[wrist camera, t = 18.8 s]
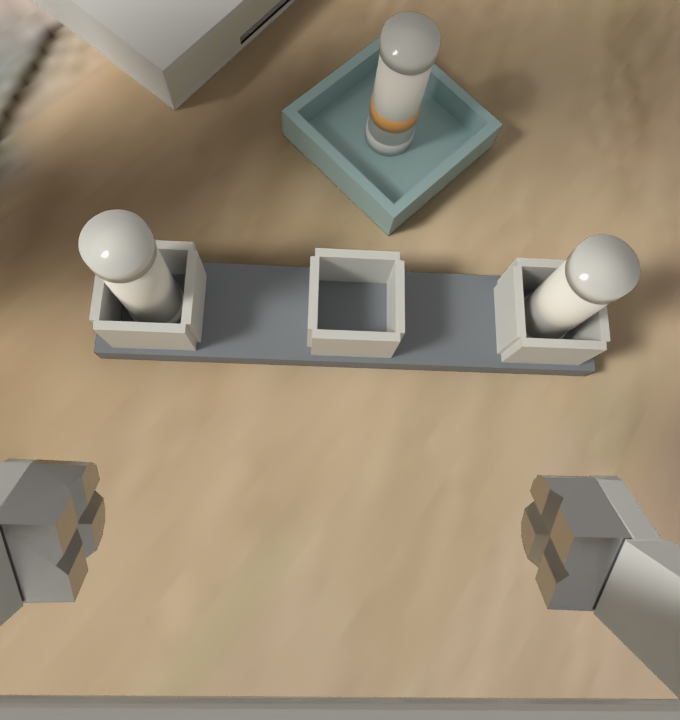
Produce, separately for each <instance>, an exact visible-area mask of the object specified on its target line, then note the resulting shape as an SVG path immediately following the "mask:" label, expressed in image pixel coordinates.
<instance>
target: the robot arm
mask: <svg viewBox="0 0 680 720" xmlns="http://www.w3.org/2000/svg"><path fill="white" fill-rule="evenodd" d="M99 480H100V478H99V473H98V469H97V465H95V464H94V463H92V462H76V461H57V460H27V459H7V460H5V461H3V462H1V463H0V626H1V625H2V624H3V623H4V622H5V621H7V620H8V619H9V618H10V617H11V616H12V615H13V614H14V613H16V612H17V611H18V610H19V609H20V608H21V607H22V606H23V603H36V602H75V600H76V598H77V595H78V593H79V591H80V588H81V586H82V584H83V581H84V579H85V577H86V574H87V572H88V567H87V562H86V558H87V557H88V556H89V555H91V554H92V553H93V552H95V551H96V550H97V548H98V546H99V543H100V541H101V538H102V535H103V529H104V524H105V505H104V499H103V497H102V496H101V495H99V494H98V493H97V492H96V491H95V489H96V487H97V485H98V482H99ZM530 492H531V494H532V497H533V499H534V502H532V503H531V504H530V505H529V506H528V507H526V508H525V510H524V514H523V518H522V522H521V537H522V542H523V547H524V550H525V553H526V555H527V558H528V559H529V560H530V561H531V562H532V563H534V564H535V565H536V566H537V567H538V568H539V569H538V572H537V575H536V578H535V579H536V581H537V584H538V586H539V589H540V591H541V594H542V596H543V599H544V601H545V604H546V606H547V609H554V610H578V611H594V614H595V615H596V616H597V617H598V618H599V619H600V620H601V621H602V622H603V623H604V624H605V625H606V626H607V627H608V628H609V629H610V630H611V631H612V632H613V633H614V634H615V635H616V636H617V637H618V638H619V639H620V640H621V641H622V642H623V643H624V644H625V645H626V646H627V647H628V648H629V649H630V650H631V651H632V652H633V653H634V654H635V655H636V656H637V657H638V658H639V659H640V660H641V661H642V662H643V663H644V664H645V665H646V666H647V667H648V668H649V669H650V670H651V671H652V672H653V673H654V674H655V675H656V676H657V677H658V678H659V679H660V680H661V681H662V682H663V683H664V684H665V685H666V686H667V687H668V688H669V689H670V690H671V691H672V692H673V693H674V694H675V695H676V696H677V697H678V698H679V699H604V698H425V697H269V696H111V695H0V720H680V546H679V545H677V544H676V543H674V542H672V541H671V540H662V538H661V537H660V535H659V534H658V532H657V531H656V529H655V528H654V526H653V525H652V524H651V522H650V521H649V519H648V518H647V516H646V515H645V513H644V512H643V510H642V509H641V507H640V506H639V504H638V503H637V501H636V500H635V498H634V497H633V495H632V494H631V492H630V491H629V489H628V488H627V486H626V485H625V483H624V482H623V481H622V479H620V478H618V477H617V476H589V477H588V476H554V475H537V477H536V478H535V479H534V481H533V483H532V487H531V490H530Z"/></svg>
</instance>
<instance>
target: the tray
mask: <svg viewBox="0 0 680 720" xmlns="http://www.w3.org/2000/svg"><path fill="white" fill-rule="evenodd" d="M380 39H381V36H380V37H379V38H377V39H376V40H375V41H373V42H372V43H371V44H370V45H368V46H367V47H366V48H364V49H363V50H362V51H360V52H359V53H358V54H356V55H355V56H354V57H352V58H351V59H350V60H348V61H347V62H346V63H344V64H343V65H342V66H340V67H339V68H338V69H336V70H335V71H334V72H332V73H331V74H330V75H328V76H327V77H326V78H324V79H323V80H322V81H320V82H319V83H318V84H316V85H315V86H314V87H312V88H311V89H310V90H308V91H307V92H306V93H304V94H303V95H302V96H301V97H299V98H298V99H297V100H295V101H294V102H293V103H291V104H290V105H289V106H287V107H286V108H285V109H283V110H282V127H283V135H284V136H285V137H286V138H287V139H288V140H289V141H291V142H292V143H293V144H294V145H295V146H296V147H297V148H298V149H299V150H300V151H301V152H302V153H303V154H304V155H305V156H306V157H307V158H308V159H309V160H310V161H311V162H312V163H313V164H314V165H315V166H316V167H317V168H318V169H319V170H321V171H322V172H323V173H324V174H325V175H326V176H327V177H328V178H329V179H330V180H331V181H332V182H333V183H334V184H335V185H336V186H337V187H338V188H339V189H340V190H341V191H342V192H343V193H344V194H345V195H346V196H347V197H348V198H349V199H351V200H352V201H353V202H354V203H355V204H356V205H357V206H358V207H359V208H360V209H361V210H362V211H363V212H364V213H365V214H366V215H367V216H368V217H369V218H370V219H371V220H372V221H373V222H374V223H375V224H376V225H377V226H378V227H379V228H381V229H382V230H383V231H384V232H385V233H386V234H387V235H388V236H389V235H390V234H391V233H392V232H393V231H394V230H396V229H397V228H398V227H399V226H400V225H401V224H402V223H404V222H405V221H406V220H407V219H408V218H409V217H411V216H412V215H413V214H414V213H415V212H416V211H417V210H419V209H420V208H421V207H422V206H423V205H424V204H426V203H427V202H428V201H429V200H430V199H431V198H432V197H434V196H435V195H436V194H437V193H438V192H439V191H441V190H442V189H443V188H444V187H445V186H446V185H447V184H449V183H450V182H451V181H452V180H453V179H454V178H456V177H457V176H458V175H459V174H460V173H461V172H462V171H464V170H465V169H466V168H467V167H468V166H469V165H471V164H472V163H473V162H474V161H475V160H476V159H477V158H479V157H480V156H481V155H482V154H483V153H484V152H486V151H487V150H488V149H489V148H490V147H491V146H492V144H493V142H494V140H495V138H496V136H497V135H498V133H499V131H500V129H501V127H502V125H503V124H502V123H501V122H500V121H498V120H497V119H496V118H495V117H494V116H493V115H492V114H491V113H489V112H488V111H487V110H486V109H485V108H484V107H483V106H482V105H480V104H479V103H478V102H477V101H476V100H475V99H474V98H473V97H471V96H470V95H469V94H468V93H467V92H466V91H465V90H464V89H463V88H461V87H460V86H459V85H458V84H457V83H456V82H455V81H454V80H452V79H451V78H450V77H449V76H448V75H447V74H446V73H445V72H443V71H442V70H441V69H440V68H439V67H438V66H437V65H436V64H435V63H434V64H433V65H432V69H431V72H430V76H429V79H428V83H427V86H426V89H425V93H424V96H423V100H422V105H421V110H420V113H419V116H418V120H417V122H416V124H415V132H414V135H413V139H412V142H411V145H410V147H409V148H408V149H407V150H406V151H405V152H404V153H402V154H400V155H398V156H392V157H388V156H382V155H380V154H378V153H376V152H374V151H373V150H372V149H371V148H370V147H369V146H368V144H367V142H366V139H365V129H366V123H367V119H368V117H369V109H370V103H371V97H372V93H373V90H374V84H375V78H376V72H377V66H378V60H379V54H380V53H379V45H380Z"/></svg>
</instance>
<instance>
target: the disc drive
mask: <svg viewBox="0 0 680 720" xmlns="http://www.w3.org/2000/svg"><path fill="white" fill-rule="evenodd" d="M32 1H34V2H35V3H36V4H37V5H39V6H40V7H41V8H43V9H44V10H45V11H46V12H48V13H49V14H50V15H52V16H53V17H54V18H56V19H57V20H58V21H59V22H61V23H62V24H63V25H65V26H66V27H67V28H68V29H70V30H71V31H72V32H74V33H75V34H76V35H77V36H79V37H80V38H81V39H83V40H84V41H85V42H87V43H88V44H89V45H90V46H92V47H93V48H94V49H96V50H97V51H98V52H99V53H101V54H102V55H103V56H105V57H106V58H107V59H109V60H110V61H111V62H112V63H114V64H115V65H116V66H118V67H119V68H120V69H121V70H123V71H124V72H125V73H127V74H128V75H129V76H130V77H132V78H133V79H134V80H136V81H137V82H138V83H140V84H141V85H142V86H143V87H145V88H146V89H147V90H149V91H150V92H151V93H152V94H154V95H155V96H156V97H158V98H159V99H160V100H162V101H163V102H164V103H165V104H167V105H168V106H169V107H171V108H172V109H173V110H174V111H175V110H176V109H177V108H178V107H179V106H181V105H182V104H183V103H184V102H185V101H186V100H187V99H188V98H189V97H190V96H192V95H193V94H194V93H195V92H196V91H197V90H198V89H199V88H200V87H201V86H202V85H204V84H205V83H206V82H207V81H208V80H209V79H210V78H211V77H212V76H213V75H215V74H216V73H217V72H218V71H219V70H220V69H221V68H222V67H223V66H224V65H226V64H227V63H228V62H229V61H230V60H231V59H232V58H233V57H234V56H235V55H236V54H238V53H239V52H240V51H241V50H242V49H243V48H244V47H245V46H246V45H247V44H249V43H250V42H251V41H252V40H253V39H254V38H255V37H256V36H257V35H258V34H260V33H261V32H262V31H263V30H264V29H265V28H266V27H267V26H268V25H269V24H271V23H272V22H273V21H274V20H275V19H276V18H277V17H278V16H279V15H280V14H281V13H283V12H284V11H285V10H286V9H287V8H288V7H289V6H290V5H291V4H292V3H294V2H295V1H296V0H32Z"/></svg>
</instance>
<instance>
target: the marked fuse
mask: <svg viewBox="0 0 680 720" xmlns="http://www.w3.org/2000/svg"><path fill="white" fill-rule="evenodd" d="M440 43H441V34H440V31H439V29H438V27H437V25H436V24H435V23H434V22H433V21H432V20H431V19H429V18H428V17H426V16H424V15H422V14H419V13H415V12H402V13H398V14H395V15H393V16H392V17H390V18H389V19H388V20H387V21H386V22H385V24H384V26H383V28H382V33H381V39H380V45H379V53H380V54H379V60H378V66H377V72H376V78H375V84H374V90H373V93H372V97H371V103H370V109H369V117H368V119H367V123H366V129H365V139H366V142H367V144H368V146H369V147H370V148H371V149H372V150H373V151H374V152H376V153H378V154H380V155H382V156H388V157H392V156H398V155H400V154H402V153H404V152H405V151H406V150H407V149H408V148H409V147H410V145H411V142H412V139H413V135H414V132H415V124H416V122H417V120H418V116H419V113H420V110H421V105H422V100H423V96H424V93H425V89H426V86H427V83H428V79H429V76H430V72H431V69H432V65H433V64H434V62H435V60H436V57H437V54H438V50H439V47H440Z"/></svg>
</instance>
